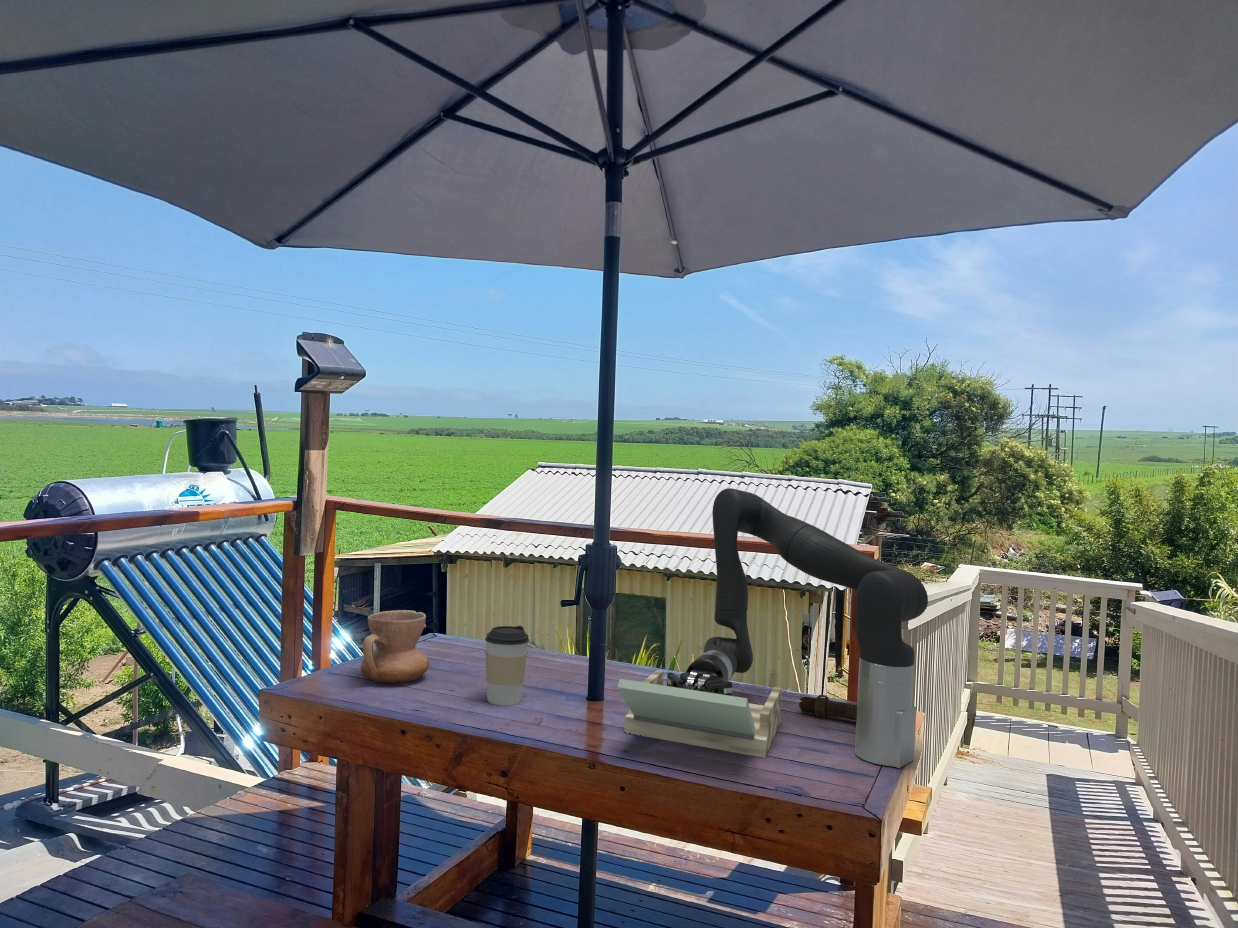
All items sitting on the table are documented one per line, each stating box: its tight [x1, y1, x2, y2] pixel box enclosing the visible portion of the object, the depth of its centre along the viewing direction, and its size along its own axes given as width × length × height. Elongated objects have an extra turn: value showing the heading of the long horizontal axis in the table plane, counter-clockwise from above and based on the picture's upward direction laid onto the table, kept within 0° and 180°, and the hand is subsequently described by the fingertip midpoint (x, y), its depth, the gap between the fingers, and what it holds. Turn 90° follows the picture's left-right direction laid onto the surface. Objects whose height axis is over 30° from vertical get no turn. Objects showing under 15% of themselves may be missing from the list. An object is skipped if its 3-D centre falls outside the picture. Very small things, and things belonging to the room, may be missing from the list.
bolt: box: [798, 694, 857, 721], centre depth 153 cm, size 6×5×15 cm
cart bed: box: [623, 669, 783, 759], centre depth 143 cm, size 20×26×7 cm
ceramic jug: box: [360, 609, 430, 684], centre depth 164 cm, size 18×14×14 cm
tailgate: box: [617, 678, 756, 740], centre depth 129 cm, size 2×22×14 cm
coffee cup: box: [484, 625, 530, 706], centre depth 154 cm, size 9×9×15 cm
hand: (686, 697), depth 129 cm, fingers closed
